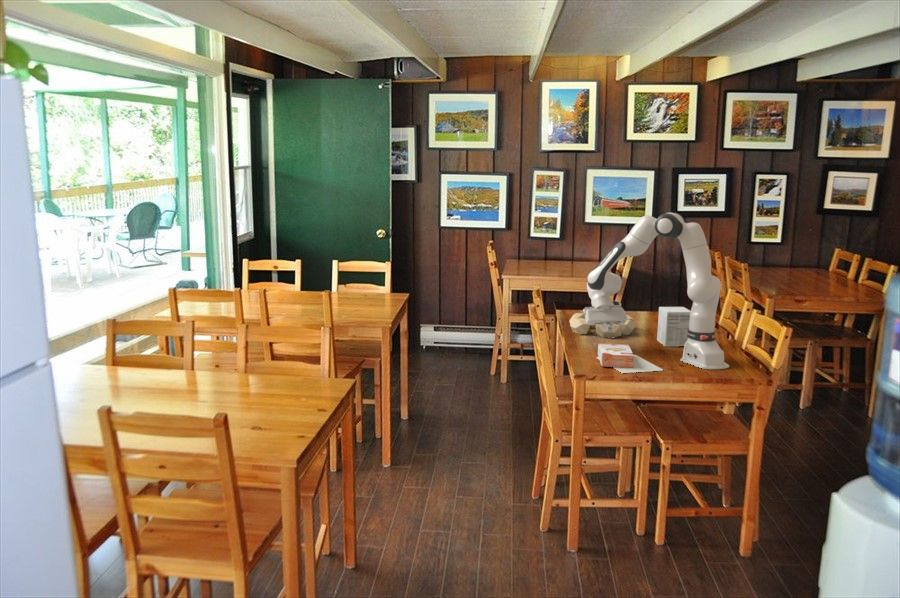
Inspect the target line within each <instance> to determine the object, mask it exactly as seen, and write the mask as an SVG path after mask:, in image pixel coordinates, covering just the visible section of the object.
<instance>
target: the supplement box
mask: <svg viewBox="0 0 900 598" xmlns="http://www.w3.org/2000/svg"><path fill="white" fill-rule="evenodd" d="M690 311H691V309H688V308H686V307H685V306H659V307H658V315H657V316H658V321H657V334H656V340H657V342H658V343H660V344H661V345H662V344H663V345H662V346H664V347H679V346H685V343H686V341H687V339H688V337H687V332H688V329H689V320H690Z"/></svg>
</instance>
